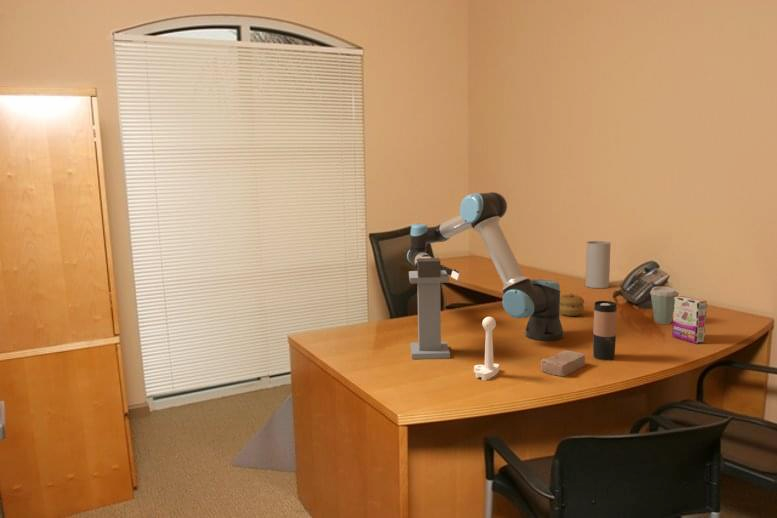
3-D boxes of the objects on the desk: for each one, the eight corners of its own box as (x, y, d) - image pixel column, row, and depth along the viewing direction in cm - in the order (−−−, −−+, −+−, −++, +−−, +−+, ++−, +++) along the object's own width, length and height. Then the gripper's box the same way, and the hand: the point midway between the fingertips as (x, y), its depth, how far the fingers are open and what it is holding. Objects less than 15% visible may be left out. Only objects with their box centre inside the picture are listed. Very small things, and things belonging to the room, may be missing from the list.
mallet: (415, 266, 235) (415, 252, 234) (435, 266, 235) (435, 251, 234) (418, 277, 212) (418, 261, 211) (440, 277, 212) (440, 260, 211)
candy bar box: (705, 342, 226) (707, 300, 224) (695, 344, 224) (698, 302, 222) (680, 335, 236) (682, 295, 234) (671, 336, 234) (673, 296, 232)
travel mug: (614, 354, 215) (616, 301, 212) (615, 361, 208) (617, 306, 204) (592, 353, 217) (594, 300, 214) (592, 359, 210) (594, 305, 207)
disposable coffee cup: (678, 326, 249) (680, 291, 247) (651, 325, 251) (653, 290, 249) (671, 319, 260) (673, 286, 257) (645, 318, 262) (647, 285, 259)
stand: (410, 346, 231) (408, 271, 226) (446, 345, 231) (445, 270, 226) (411, 359, 215) (410, 278, 211) (450, 358, 215) (449, 277, 211)
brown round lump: (580, 311, 277) (581, 291, 275) (586, 318, 265) (587, 296, 264) (555, 311, 278) (555, 291, 276) (560, 318, 267) (560, 296, 265)
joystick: (488, 381, 192) (488, 321, 189) (467, 376, 196) (466, 318, 193) (501, 370, 201) (502, 314, 198) (481, 367, 205) (481, 311, 202)
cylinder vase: (589, 283, 340) (590, 240, 336) (611, 285, 332) (613, 241, 328) (582, 287, 330) (583, 243, 326) (605, 289, 322) (606, 244, 318)
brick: (564, 360, 211) (564, 348, 210) (586, 365, 205) (586, 352, 204) (539, 373, 199) (540, 359, 198) (562, 379, 193) (562, 365, 193)
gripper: (447, 276, 268) (467, 288, 249) (398, 264, 259) (415, 276, 240) (452, 260, 267) (473, 271, 248) (402, 248, 258) (420, 258, 239)
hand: (444, 274), depth 244 cm, fingers open, 13 cm apart
